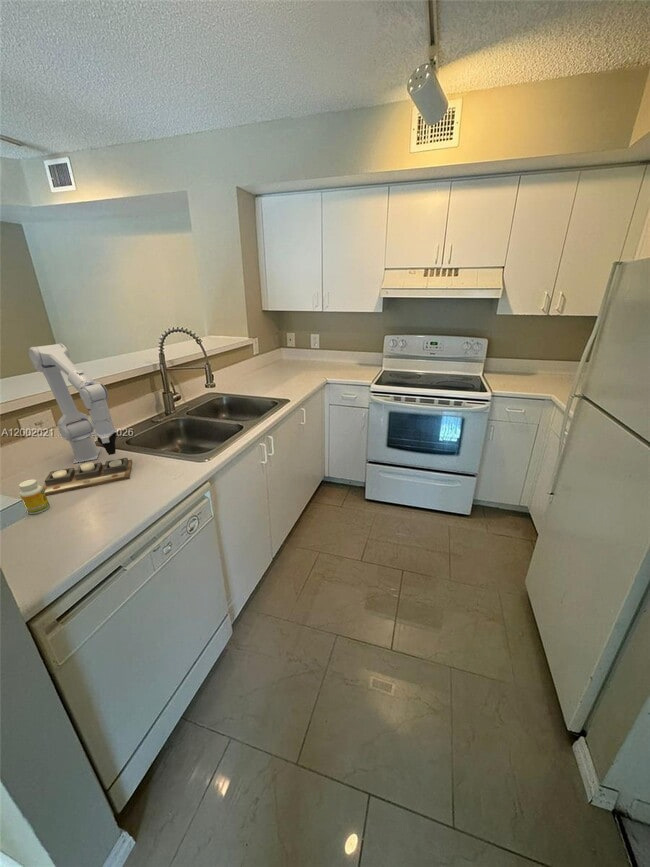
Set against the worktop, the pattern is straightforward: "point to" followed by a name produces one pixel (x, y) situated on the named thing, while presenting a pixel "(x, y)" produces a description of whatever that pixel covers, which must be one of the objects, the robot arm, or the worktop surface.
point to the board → (87, 477)
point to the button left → (59, 473)
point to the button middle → (87, 467)
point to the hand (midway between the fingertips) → (112, 453)
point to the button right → (115, 463)
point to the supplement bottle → (33, 496)
